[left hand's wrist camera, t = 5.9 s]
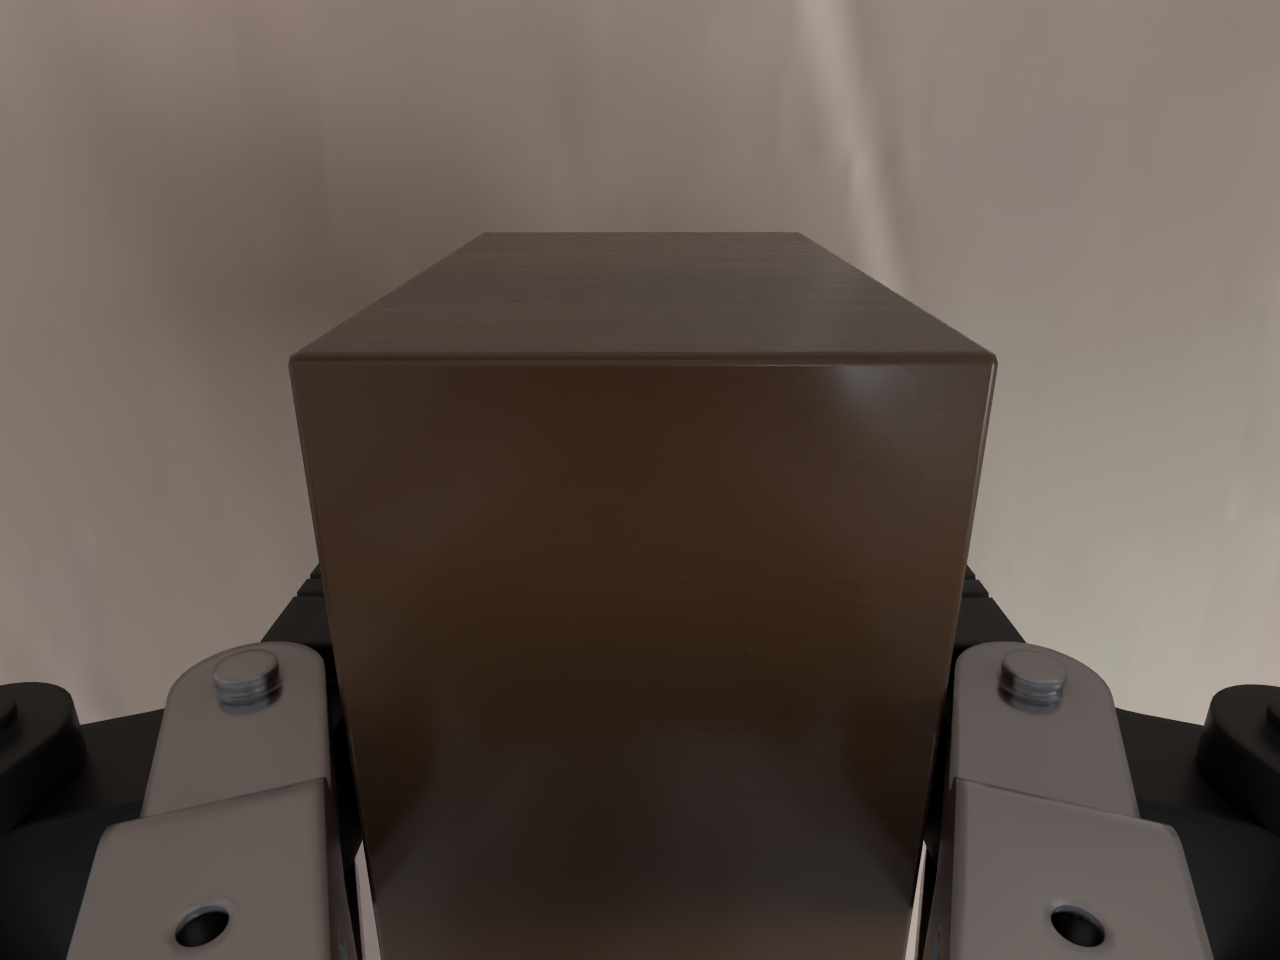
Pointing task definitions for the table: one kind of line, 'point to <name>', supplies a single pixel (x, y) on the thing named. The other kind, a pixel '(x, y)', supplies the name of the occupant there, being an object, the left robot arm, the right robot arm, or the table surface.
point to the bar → (643, 593)
